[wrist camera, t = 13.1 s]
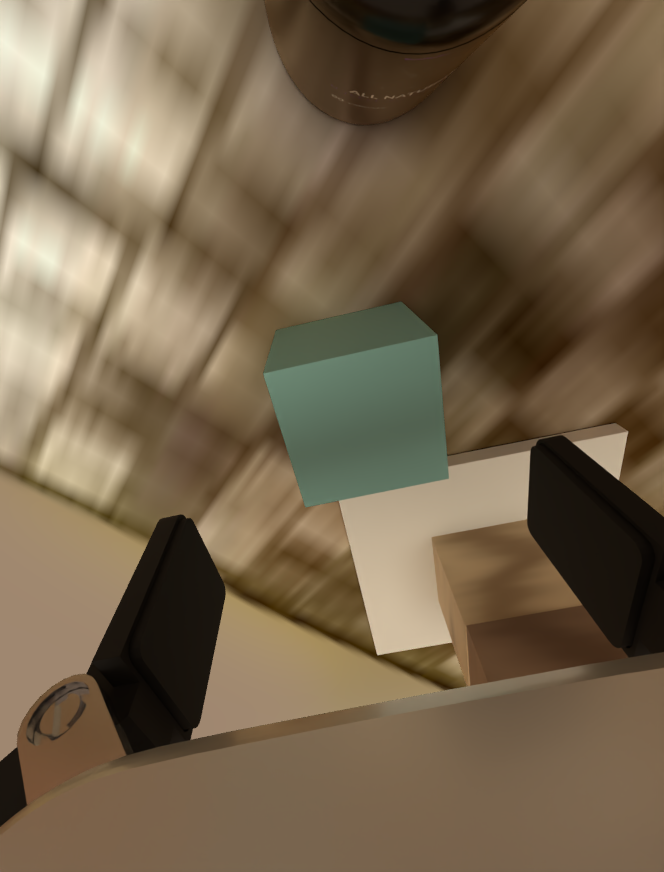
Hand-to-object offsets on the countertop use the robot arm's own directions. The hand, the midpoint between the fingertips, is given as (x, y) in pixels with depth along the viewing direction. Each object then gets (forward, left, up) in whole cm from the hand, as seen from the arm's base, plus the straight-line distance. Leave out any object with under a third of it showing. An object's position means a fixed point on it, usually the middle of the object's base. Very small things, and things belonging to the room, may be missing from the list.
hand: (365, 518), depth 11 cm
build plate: (-7, +14, -11) cm, 19 cm away
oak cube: (-7, +14, -10) cm, 18 cm away
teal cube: (-1, 0, -11) cm, 11 cm away
